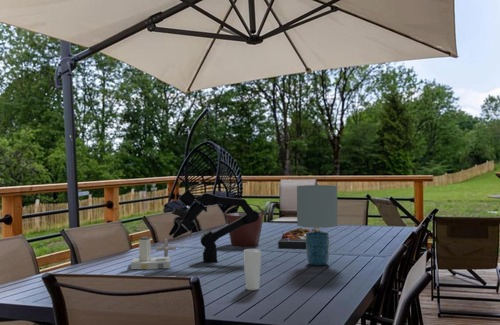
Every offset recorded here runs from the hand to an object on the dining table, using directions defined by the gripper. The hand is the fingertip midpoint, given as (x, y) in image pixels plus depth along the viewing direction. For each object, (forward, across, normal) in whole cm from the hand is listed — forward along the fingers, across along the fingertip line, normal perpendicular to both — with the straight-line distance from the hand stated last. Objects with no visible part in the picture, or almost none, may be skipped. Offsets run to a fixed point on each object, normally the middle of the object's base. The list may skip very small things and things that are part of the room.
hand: (171, 236), depth 239 cm
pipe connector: (+9, -16, +10) cm, 21 cm away
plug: (+19, +1, 0) cm, 19 cm away
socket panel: (+17, +2, +2) cm, 17 cm away
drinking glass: (-4, +62, +23) cm, 66 cm away
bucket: (-28, -40, +47) cm, 68 cm away
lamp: (-36, +30, +56) cm, 73 cm away
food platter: (-53, -34, +74) cm, 97 cm away
